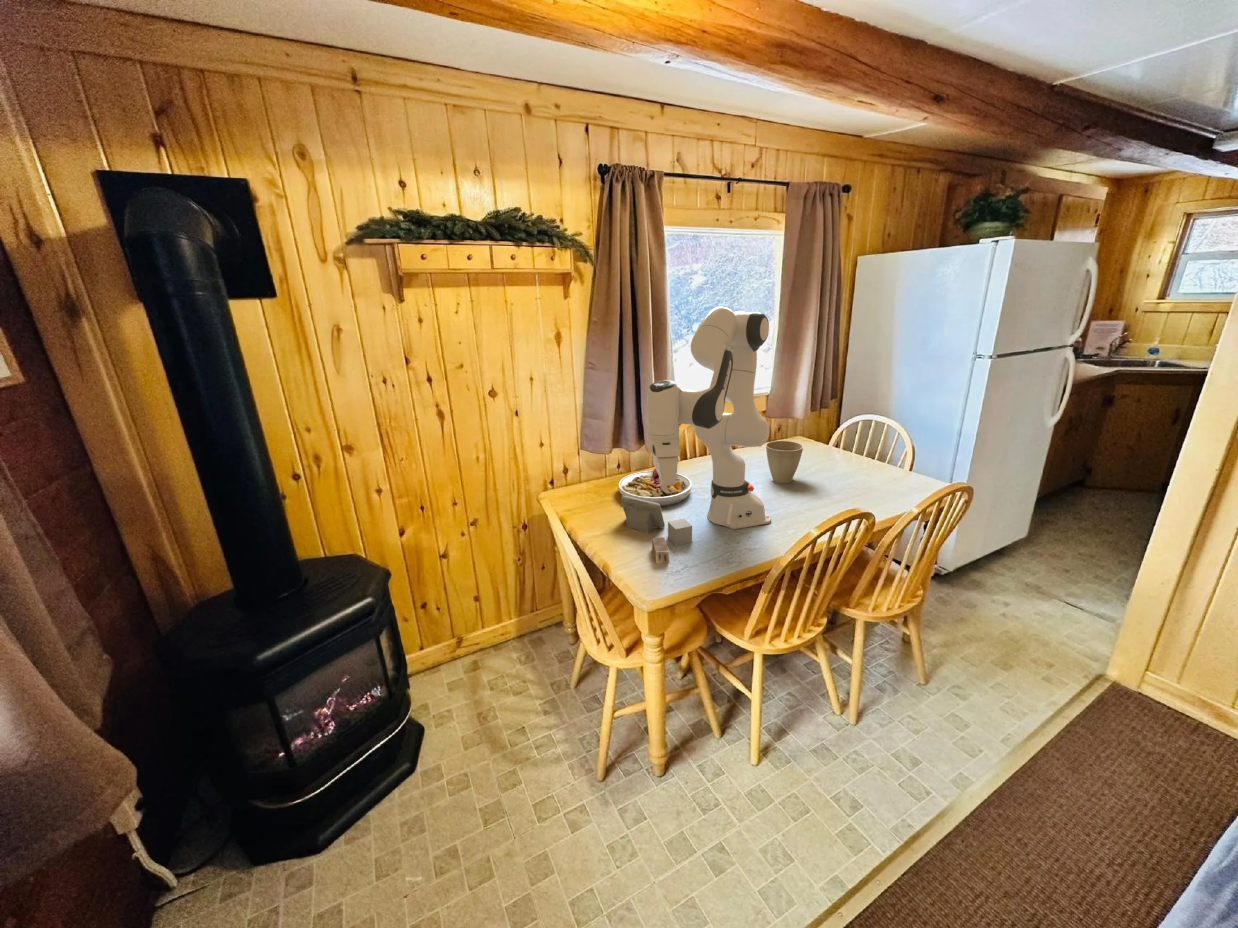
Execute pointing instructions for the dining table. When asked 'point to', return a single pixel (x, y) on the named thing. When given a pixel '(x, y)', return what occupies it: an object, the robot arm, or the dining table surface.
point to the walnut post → (660, 550)
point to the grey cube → (680, 531)
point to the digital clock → (642, 514)
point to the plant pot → (783, 459)
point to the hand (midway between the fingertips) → (663, 487)
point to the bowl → (654, 488)
